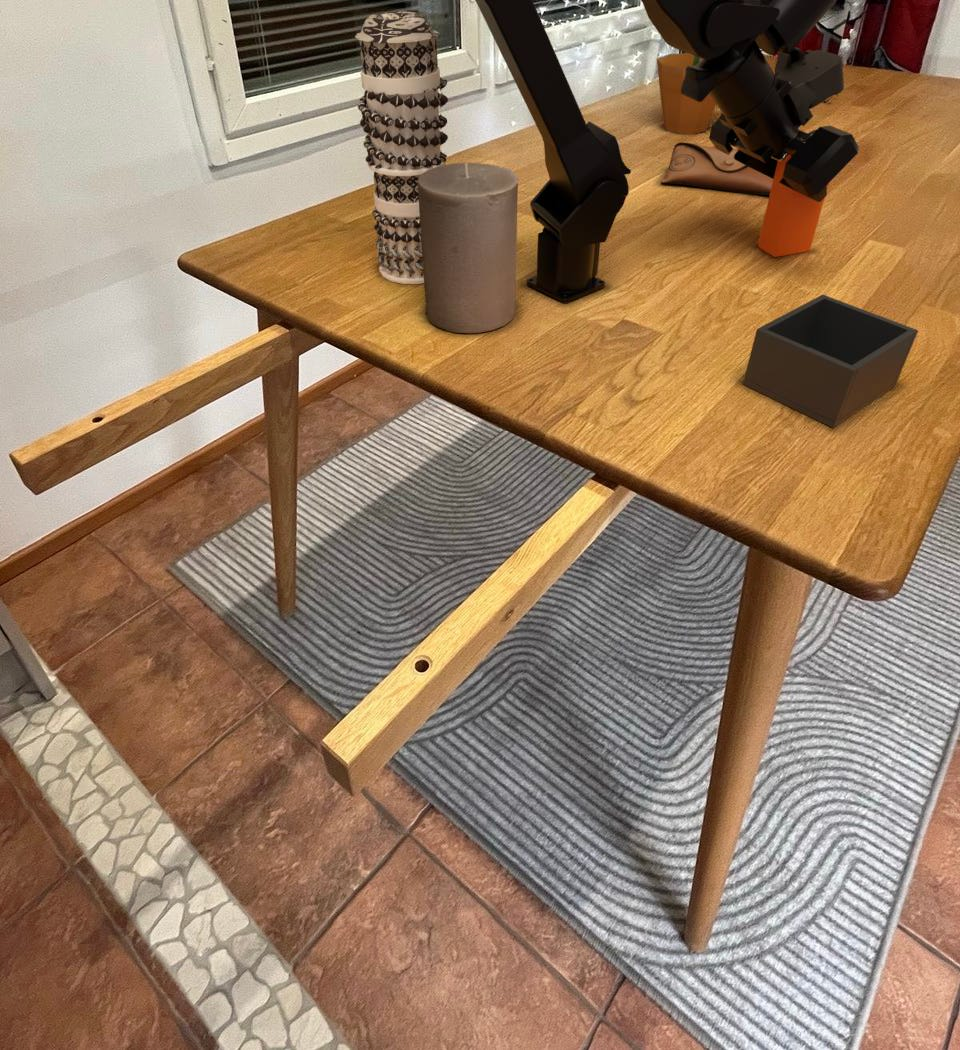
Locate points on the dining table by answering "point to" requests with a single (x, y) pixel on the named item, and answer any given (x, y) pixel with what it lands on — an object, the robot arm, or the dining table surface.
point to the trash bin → (828, 359)
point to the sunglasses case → (714, 170)
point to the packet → (788, 219)
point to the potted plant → (681, 96)
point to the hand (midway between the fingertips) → (808, 191)
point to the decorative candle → (400, 131)
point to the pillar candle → (469, 245)
